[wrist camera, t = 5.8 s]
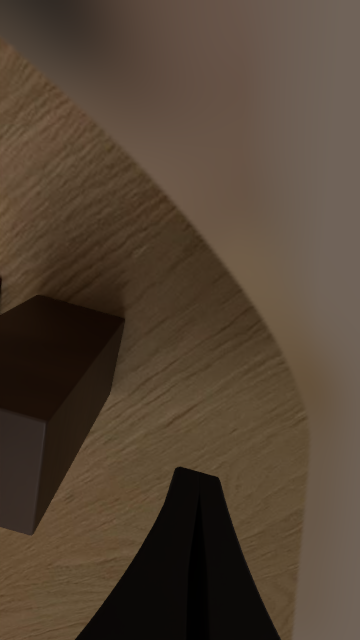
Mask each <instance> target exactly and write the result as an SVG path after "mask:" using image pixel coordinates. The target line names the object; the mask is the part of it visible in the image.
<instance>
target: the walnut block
mask: <svg viewBox="0 0 360 640" xmlns="http://www.w3.org/2000/svg"><path fill="white" fill-rule="evenodd" d="M124 323H125V319H123V318H120V317H116V316H112V315H109V314H105V313H101V312H98V311H94V310H91V309H87V308H83V307H80V306H76V305H72V304H69V303H65V302H61V301H58V300H54V299H51V298H47V297H43V296H40V295H36V296H34V297H32V298H31V299H29V300H27V301H25V302H23V303H22V304H20V305H18V306H16V307H14V308H12V309H11V310H9V311H7V312H5V313H3V314H2V315H0V527H2V528H6V529H9V530H13V531H16V532H20V533H24V534H27V535H33V534H34V532H35V530H36V528H37V526H38V525H39V523H40V521H41V519H42V517H43V515H44V514H45V512H46V510H47V508H48V506H49V504H50V503H51V501H52V499H53V497H54V495H55V493H56V492H57V490H58V488H59V486H60V484H61V482H62V481H63V479H64V477H65V475H66V473H67V471H68V470H69V468H70V466H71V464H72V462H73V461H74V459H75V457H76V455H77V453H78V451H79V450H80V448H81V446H82V444H83V442H84V440H85V439H86V437H87V435H88V433H89V431H90V429H91V428H92V426H93V424H94V422H95V420H96V418H97V417H98V415H99V413H100V411H101V409H102V407H103V406H104V404H105V402H106V400H107V398H108V397H109V395H110V390H111V386H112V381H113V376H114V371H115V366H116V361H117V357H118V352H119V347H120V342H121V337H122V332H123V327H124Z"/></svg>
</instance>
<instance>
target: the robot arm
mask: <svg viewBox="0 0 360 640" xmlns="http://www.w3.org/2000/svg"><path fill="white" fill-rule="evenodd" d="M75 640H281V639H280V637H279V635H278V633H277V631H276V629H275V627H274V625H273V623H272V620H271V618H270V616H269V614H268V612H267V610H266V608H265V606H264V603H263V601H262V599H261V597H260V594H259V592H258V590H257V588H256V585H255V583H254V580H253V578H252V575H251V573H250V571H249V568H248V566H247V563H246V560H245V558H244V555H243V553H242V550H241V547H240V544H239V541H238V539H237V536H236V533H235V530H234V527H233V524H232V521H231V518H230V515H229V511H228V508H227V505H226V501H225V498H224V494H223V490H222V486H221V482H220V480H219V478H218V477H216V476H212V475H208V474H205V473H201V472H198V471H194V470H191V469H187V468H183V467H177V468H175V471H174V474H173V477H172V480H171V483H170V487H169V490H168V493H167V496H166V499H165V502H164V505H163V507H162V509H161V511H160V513H159V515H158V517H157V519H156V521H155V523H154V525H153V527H152V529H151V530H150V532H149V534H148V536H147V537H146V539H145V541H144V542H143V544H142V546H141V548H140V549H139V551H138V553H137V554H136V556H135V557H134V559H133V561H132V562H131V564H130V565H129V567H128V568H127V570H126V571H125V573H124V574H123V576H122V577H121V579H120V580H119V582H118V583H117V585H116V586H115V588H114V589H113V590H112V592H111V593H110V594H109V596H108V597H107V599H106V600H105V601H104V603H103V604H102V606H101V607H100V608H99V610H98V611H97V612H96V614H95V615H94V616H93V618H92V619H91V620H90V622H89V623H88V624H87V625H86V627H85V628H84V629H83V630H82V632H81V633H80V634H79V635H78V636H77V638H76V639H75Z"/></svg>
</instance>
